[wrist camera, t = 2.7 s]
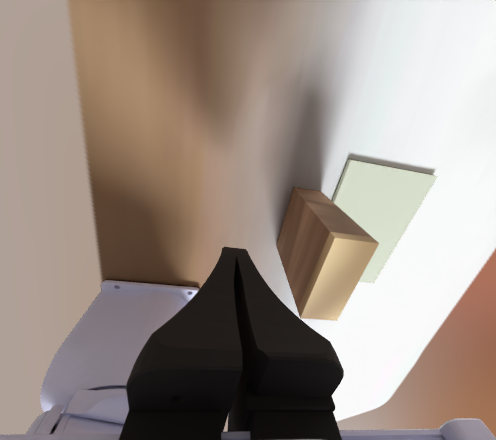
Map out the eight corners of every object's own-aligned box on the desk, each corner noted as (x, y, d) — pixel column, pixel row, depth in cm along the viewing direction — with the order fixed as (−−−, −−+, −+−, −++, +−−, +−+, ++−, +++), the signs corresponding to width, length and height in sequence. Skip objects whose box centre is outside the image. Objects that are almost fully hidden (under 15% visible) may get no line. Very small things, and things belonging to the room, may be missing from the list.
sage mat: (303, 273, 22) (305, 276, 22) (348, 159, 17) (350, 160, 16) (371, 280, 23) (373, 283, 23) (433, 175, 18) (437, 176, 17)
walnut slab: (276, 245, 20) (300, 317, 13) (293, 187, 18) (335, 237, 10) (300, 248, 21) (336, 320, 13) (321, 191, 18) (379, 243, 11)
